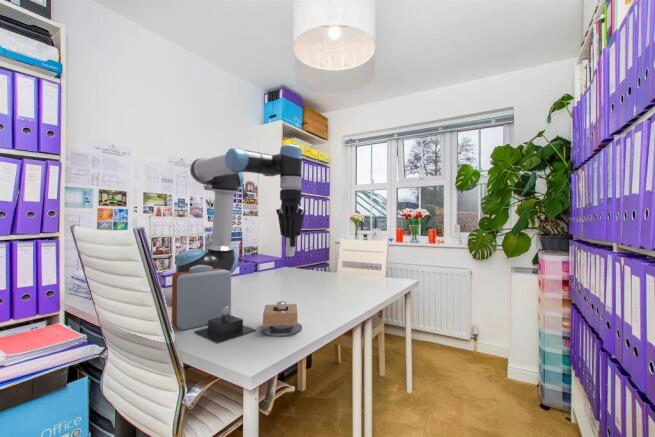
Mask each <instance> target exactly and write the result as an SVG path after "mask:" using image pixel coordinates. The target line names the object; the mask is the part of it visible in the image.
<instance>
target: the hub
mask: <svg viewBox="0 0 655 437" xmlns="http://www.w3.org/2000/svg"><path fill="white" fill-rule="evenodd" d="M286 304H287V301H282V300H281V301H280V300H279V301H277V302H276V305H277V311H286ZM302 330H303V326H302V324H301V323H299V322H297V325H291V326H265V327H263V325H262V326H261V327H260V332H261V334H263V335H265V336H269V337H279V338H280V337H290V336H294V335H297V334H298V333H300V332H302Z"/></svg>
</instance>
